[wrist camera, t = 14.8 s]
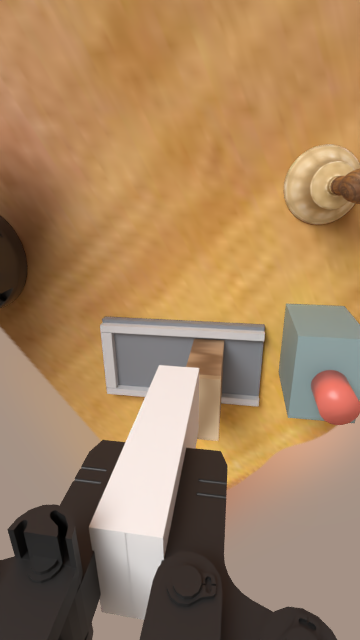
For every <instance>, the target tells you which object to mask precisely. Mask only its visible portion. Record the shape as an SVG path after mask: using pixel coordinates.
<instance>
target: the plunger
mask: <svg viewBox="0 0 360 640" xmlns="http://www.w3.org/2000/svg"><path fill="white" fill-rule="evenodd" d="M311 390H312V393H313V396H314V398H315V401H316V404H317V407H318V410H319V413H320V415H321V417H322V418H323V419H324V420H325V421H326V422H328V423H331V424H334V425H343V424H347V423H350V422H352V421H353V420H355V419H356V418H357V417H358V415H359V413H360V402H359V400H358V399H357V397H356V395H355V393H354V391H353V389H352V388H351V386H350V384H349V382H348V380H347V378H346V377H345V376H344V375H343V374H342V373H340V372H338V371H335V370H326V371H322V372H320V373H318V374H317V375H316V376H315V377H314V378H313V380H312V382H311Z"/></svg>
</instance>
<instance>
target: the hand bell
mask: <svg viewBox="0 0 360 640" xmlns="http://www.w3.org/2000/svg"><path fill="white" fill-rule="evenodd" d="M284 197H285V201H286V204H287V206H288V208H289V210H290V211H291V212H292V214H293V215H295V216H296V217H297V218H298V219H300V220H301V221H303V222H306V223H309V224H327V223H330V222H333V221H335V220H337V219H339V218H341V217H342V216H344V215H345V214H346V213H347V212H348V211H349V210H350V209H351V208H352V207H353V206H354V204H355V203H356V204H360V163H359V161H358V160H357V158H356V157H355V156H354V154H353V153H351V152H350V151H349V150H347V149H346V148H344V147H341V146H338V145H332V144H326V145H320V146H316V147H313V148H311V149H309V150H307V151H306V152H304V153H303V154H302V155H300V156H299V157H298V158H297V159H296V160H295V162H294V163H293V164H292V165H291V167H290V169H289V171H288V173H287V175H286V179H285V183H284Z"/></svg>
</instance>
